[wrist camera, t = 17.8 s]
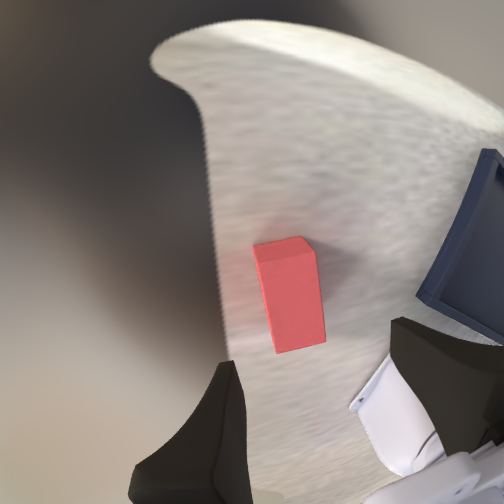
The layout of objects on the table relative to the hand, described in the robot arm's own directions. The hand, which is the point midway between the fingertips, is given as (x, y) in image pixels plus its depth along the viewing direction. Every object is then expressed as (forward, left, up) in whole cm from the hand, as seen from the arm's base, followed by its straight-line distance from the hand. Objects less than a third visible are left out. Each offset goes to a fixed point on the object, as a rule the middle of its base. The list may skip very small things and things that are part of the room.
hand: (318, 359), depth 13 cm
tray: (+10, -20, -8) cm, 24 cm away
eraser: (0, 0, -8) cm, 8 cm away
